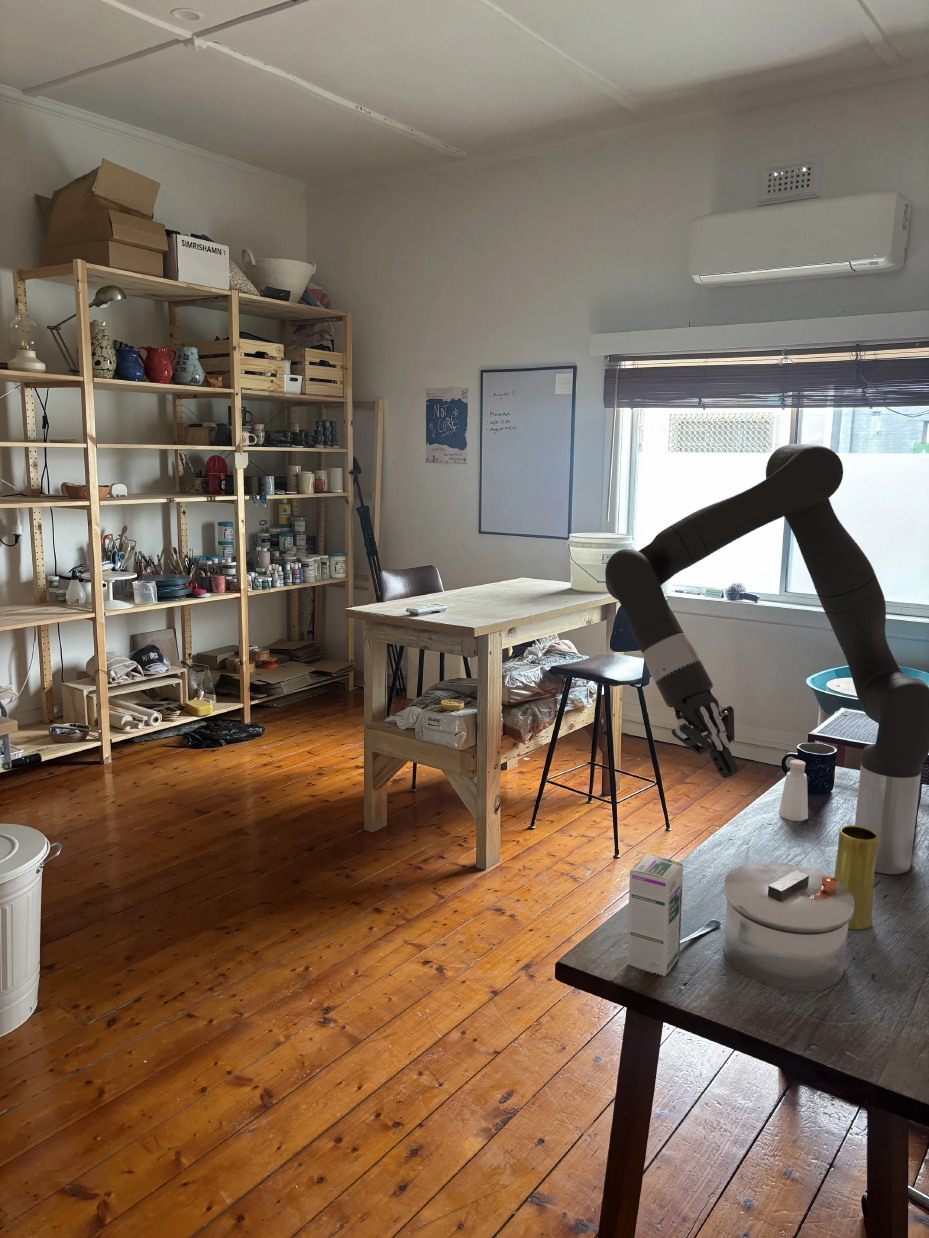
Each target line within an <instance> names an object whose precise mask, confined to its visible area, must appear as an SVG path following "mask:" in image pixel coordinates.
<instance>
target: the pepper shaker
mask: <svg viewBox="0 0 929 1238" xmlns="http://www.w3.org/2000/svg"><path fill="white" fill-rule="evenodd" d="M789 764H790V765H789V769H790V770H789V771H788V772H786V775H785V780H784V785H783V790H782V796H781V800H780V805H779V810H778V812H779V815H780V816H779V817H781V818H783V819H786V820H788V821H791V822H792V821H794V822H795V821H796V822H803V821H806V820H808V818H809V809H808V808H809V806H808V805H809V804H808V802H809V799H808V776H807V773H805V771H806V762H805V761H803V760H800V759H791V760H790V761H789Z"/></svg>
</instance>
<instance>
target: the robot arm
mask: <svg viewBox="0 0 929 1238" xmlns="http://www.w3.org/2000/svg"><path fill="white" fill-rule="evenodd" d="M840 458H841V457H839V455H838V454H837V453H836V452H835V451H834V450H832V449H831V448H828V447H826V446H823V445H819V444H812V443H811V444H810V443H808V444H807V443H790V444H785V445H783V446H780V447H778V448H777V449H775V450H774V451H773V452H772V454H770V456H769V458H768V461H767V463H766V467H765V478H764V480H763V481H761V482H758V483H757V484H756V485H754V486H752V487H750V488H748V489H745V490H744V491H742V492H740V493H738V494H735V495H732V496H730V497H727V498H725V499H723V500H720V501H718V502H714V503H712V504H709V505H707V506H705V507H703V508H701V509H697V510H696V511H694V512H692V513H690V514H688V515H687V516H684V517H683V518H681V519H680V520H678V521H677V522H675V523H673V524H671V525H670V526H668V527H666V528H664V529H663V530H661V531H660V532H659V533H657V534H656V535H655V537H653V540H652V541H651V542H650V543H649V544H647V545H645V546H644V547H642V548H641V549H639V550H636V549H633V548H624V549H623V548H622V549H620V550H617V551H616V552H615V553H613V554H612V555H611V556H610V557H609V559H608V561H607V563H606V566H605V570H604V571H605V575H604V577H605V586H606V589H607V591H608V593H609V594H610V595H611V596H612V597H613V598H614V599H615V600H617V601H619V604H620V606H621V608H622V610H623V611H624V613H625V615H626V617H627V620H628V625H629V629H630V631H631V633H632V636H633V639H634V640H635V641H636V644H637V646H638V648H639V650H640V652H641V654H642V657H643V658H644V662H645V664H646V667H647V669H648V671H649V674H650V675H651V677H652V679H653V681H654V683H655V685H656V687H657V689H658V690H659V691H658V692H660V695H661V697H662V700H663V701H664V703H665V704H666V706H667V707H668V708H672V709H674V714H675V718H676V720H677V725H676V727H675V728H673V729H671V735H672V736H673V737H675V739H677V740H678V741H679V742H681V743H682V744H683V745H684V746H686V747H688V748H689V749H690V750H692V751H693V752H694V753H695V754H697V755H698V756H701V755H707V756H709V757H710V759H711V760H712V762H713V764H714V767H715V768H716V769H717V772H718V773H719V774H720V776H721V777H722V778H723V779H726V778H730V777H731V776H733V775H735V774H737V773H739V771H740V770H739V767H738V764H737V762H736V761H735V758H734V756H733V754H732V752H731V750H730V747H731V745H730V744H731V742H734V740H735V710H734V708H733V707H732V706H731V705H728V706H726V707H725V706H723V705H720V704H719V700H718V699H717V698H716V697H715V696H714V695H713V693H712V692H711V689H712V688H713V687H714V685H713V681H712V679H711V678H710V676H709V674H708V672H707V670H706V669H705V667H704V664H703V662H702V660H701V659H700V657H699V655H698V654H697V650H695V648H694V645H692V643H691V642H690V640H689V639H688V637H687V635H686V633H685V632H684V630H683V628H682V626H681V624H680V623H679V622H678V619H677V618H676V616H675V614H674V612H673V610H672V609H671V607H670V605H669V603H668V602H667V599H666V597H665V594H664V591H663V589H662V585H664V584H665V583H666V582H668V581H669V580H671V578H672V577H674V576H675V575H676V574H678V573H679V572H682V571H683V570H685V569H686V570H687V568H689V567H691V566H694V565H695V564H696V563H698V562H700V561H701V560H703V559H705V558H707V557H709V556H710V555H712V554H714V553H715V552H717V551H719V550H720V549H722V548H724V547H726V546H728V545H729V544H731V543H733V542H735V541H736V540H738V539H740V538H743V537H744V536H745V535H748V534H750V533H751V532H753V531H755V530H757V529H759V528H762V527H763V526H765V525H768V524H770V523H772V522H775V521H777V520H779V519H781V518H785V520H786V522H787V524H788V525H789V527H790V530H791V531H792V535H794V537H795V540H796V543H797V545H798V548H799V551H800V554H801V557H802V559H803V562H804V564H805V566H806V569H807V572H808V574H809V576H810V579H811V581H812V584H813V587H814V590H815V593H816V595H817V597H818V599H819V601H820V603H821V604H820V605H821V607H822V608H823V611H824V613H825V615H826V617H827V619H828V621H829V623H830V626H831V628H832V631H833V633H834V635H835V637H836V639H837V640H836V641H837V642H838V644H839V647H840V648H841V651H842V652H843V654H844V657H845V660H846V661H847V665H848V668H849V673H850V676H851V678H852V683H853V685H854V690H855V693H856V696H857V700H858V704H859V705H860V707H861V709H862V711H863V712H864V714H865V715H866V716H867V717H868V718H869V719H871V720H872V721H873V722H875V723H876V724H878V727H877V734H876V739H875V743H872V744H868V745H866V746H865V747H864V748H862V749H863V750H862V753H861V759H860V760H861V761H860V769H859V771H860V772H859V781H858V790H857V791H858V792H857V799H856V810H855V811H856V812H855V820H854V825H855V826H862V827H865V828H868V829H870V830H872V831H874V832H875V833H876V834H877V835H878V842H877V851H876V861H875V872H874V873H877V874H879V873H880V874H883V875H884V874H886V875H901V874H904V873H907V872H908V871H909V870H910V869H911V865H912V864H911V863H912V854H913V846H914V838H915V828H916V820H917V812H918V803H919V796H920V795H919V794H920V787H921V785H920V784H921V777H922V776H921V775H922V769H923V764H924V763H925V761H926V760H927V757H928V755H929V687H928V686H927V685H926V684H924V683H922V682H920V681H918V680H916V679H914V678H912V677H910V676H908V675H905V673H904V672H903V671H902V670H901V668H900V666H899V665H898V663H897V662H896V659H895V657H894V655H893V653H892V651H891V649H890V647H889V644H888V640H887V635H886V622H887V621H886V619H887V617H886V616H887V604H886V599H885V595H884V593H883V590H882V586H881V585H880V583H879V580H878V578H877V575H876V572H875V570H874V568H873V565H872V563H871V561H870V560H869V559H868V557H867V556H866V554H865V552H864V551H863V549H862V548H861V547H860V546H859V545H858V543H857V542H856V540H855V538H853V537H852V536H851V534H850V533H849V532H848V531H847V529H846V528H845V527H844V525H843V524H842V523H841V521H840V520H839V518H838V516H837V515H836V513H835V510H834V508H833V506H832V503H831V500H830V498H831V497H832V496H833V495H834V494H835V493H836V492H837V490H838V489H839V487H840V486H841V483H842V481H843V477H844V466H843V465H844V464H843V462H842V460H841V459H840Z"/></svg>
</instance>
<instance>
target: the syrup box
mask: <svg viewBox="0 0 929 1238" xmlns="http://www.w3.org/2000/svg"><path fill="white" fill-rule="evenodd" d="M683 876H684V865H683V863H680V862H678V861H675V860H673V859H669V858H665V857H662V856H661V857H660V856H656V855H651V854H644V856H643V857H642V858H641V859H640V860H639V861H638V862H637V863H636V864H635V865H634V866H633V867H632V868H631V869H630V870H629V881H628V883H629V887H628V912H627V914H628V915H627V916H628V918H627V921H628V922H627V948H626V950H627V952H626V953H627V954H626V955H627V956H626V957H627V958H626V962H627V964H626V965H629V966H631V967H634V968H637V969H640V970H642V971H645V972H648V973H651V974H654V973H656V974H655V975H657V974H659V975H658V976H660V975H662V977H664V976H665V977H666V976H667V975H666V974H668V973H669V972H670V970H671V969H672V968H673V966H675V964H676V962H677V961H678V960H679V958H680V956H681V955H680V953H681V952H680V949H681V948H680V947H681V927H682V924H681V923H682V902H683V901H682V900H683Z"/></svg>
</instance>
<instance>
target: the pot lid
mask: <svg viewBox="0 0 929 1238" xmlns="http://www.w3.org/2000/svg"><path fill="white" fill-rule="evenodd" d="M723 885H724V886H723V889H724V890H723V892H724V893H723V895H724V896H725V898H726V901H727V900H728V902H729V903H730V904H731V905H732V906H733V907H734V908H735V909H736V910H738V911H739V912H740V913H742V914H744V915H745V916H747V917H749V918H751V919H753V920H755V921H758V922H760V923H763V924H766V925H768V926H772V927H775V928H780V929H784V930H790V931H798V932H823V931H830V930H834V929H837V928H840V927H842V926H844V925H846V924H847V923H848V922H849V921H850V920H851V919H852V917H853V913H854V898H853V896H852V894H851V893H850V892H849V890H848V889H847V888H846V887H844V886H843V885H842V884H841V883H839V882H838V881H837V880H836V879H835V878H834V877H832V876H828V875H827V874H824V873H823V872H820V871H817V870H814V869H811V868H808V867H804V866H801V865H797V864H796V865H795V864H791V863H783V862H770V861H769V862H768V861H765V862H762V861H761V862H751V863H748V864H747V863H746V864H743V865H740V866H738V867H735V868H734V869H732V870H730V871H729V872H728V873H727V875H726V876H725V878H724V883H723Z"/></svg>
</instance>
